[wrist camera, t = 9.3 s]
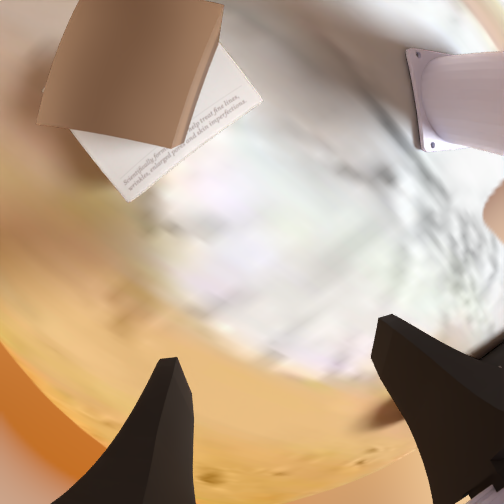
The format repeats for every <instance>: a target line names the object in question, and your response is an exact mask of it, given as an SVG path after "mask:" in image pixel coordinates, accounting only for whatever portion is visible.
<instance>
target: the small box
mask: <svg viewBox="0 0 504 504" xmlns="http://www.w3.org/2000/svg"><path fill="white" fill-rule="evenodd" d="M44 89H45V87H44V88H43V89H42V93H43V92H44ZM262 102H263V99H262V98H261V96H260V95H259V93H258V92H257V91H256V89H255V88H254V87H253V85H252V84H251V83H250V81H249V80H248V79H247V77H246V76H245V75H244V73H243V72H242V71H241V69H240V68H239V67H238V65H237V64H236V63H235V61H234V60H233V59H232V57H231V56H230V55H229V54H228V52H227V51H226V50H225V48H224V47H223V46H222V45H221V43H220V42H219V43H218V47H217V49H216V52H215V54H214V57H213V60H212V62H211V65H210V67H209V70H208V73H207V75H206V78H205V81H204V84H203V86H202V89H201V92H200V95H199V98H198V101H197V104H196V107H195V110H194V113H193V116H192V119H191V122H190V125H189V129H188V132H187V135H186V138H185V142H184V143H182V144H180V145H178V146H176V147H174V148H172V149H169V148H165V147H160V146H156V145H152V144H147V143H142V142H138V141H133V140H128V139H123V138H118V137H113V136H108V135H103V134H97V133H91V132H85V131H79V130H73V129H70V131H71V132H72V133H73V135H74V136H75V137H76V139H77V140H78V141H79V143H80V144H81V145H82V146H83V148H84V149H85V150H86V152H87V153H88V154H89V156H90V157H91V158H92V159H93V161H94V162H95V163H96V164H97V166H98V167H99V168H100V169H101V171H102V172H103V173H104V174H105V176H106V177H107V178H108V179H109V180H110V182H111V183H112V184H113V185H114V187H115V188H116V189H117V190H118V191H119V193H120V194H121V195H122V196H123V198H124V199H125V200H126V202H128V203H129V202H131V201H133V200H134V199H136V198H137V197H138V196H140V195H141V194H142V193H144V192H145V191H146V190H147V189H149V188H150V187H151V186H152V185H153V184H155V183H156V182H157V181H158V180H159V179H161V178H162V177H163V176H164V175H165V174H167V173H168V172H169V171H170V170H172V169H173V168H174V167H175V166H177V165H178V164H179V163H180V162H182V161H183V160H184V159H185V158H187V157H188V156H189V155H191V154H192V153H193V152H194V151H196V150H197V149H198V148H200V147H201V146H202V145H204V144H205V143H206V142H208V141H209V140H210V139H212V138H213V137H214V136H216V135H217V134H218V133H220V132H221V131H223V130H224V129H225V128H227V127H228V126H229V125H231V124H232V123H234V122H235V121H236V120H238V119H239V118H241V117H242V116H244V115H245V114H246V113H248V112H249V111H250V110H252V109H253V108H255V107H256V106H257V105H259V104H260V103H262Z"/></svg>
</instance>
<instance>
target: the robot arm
mask: <svg viewBox="0 0 504 504" xmlns="http://www.w3.org/2000/svg"><path fill="white" fill-rule="evenodd" d="M416 53H417V55H418V57H417V56H416ZM406 57H407V61H408V66H409V70H410V75H411V80H412V85H413V91H414V97H415V103H416V109H417V116H418V124H419V133H420V143H421V148H422V150H423V151H425V152H433V151H442V150H452V149H462V148H474V149H479V150H483V151H487V152H491V153H495V154H499V155H502V156H504V51H496V52H481V53H470V54H460V55H450V54H445V53H440V52H435V51H429V50H422V49H416V48H409V49H407V50H406ZM431 143H432V146H430V145H431ZM371 359H372V361H373V364H374V366H375V368H376V370H377V373H378V375H379V377H380V379H381V381H382V382H383V384H384V386H385V387H386V389H387V391H388V392H389V394H390V395H391V397H392V399H393V400H394V402H395V404H396V405H397V407H398V409H399V410H400V412H401V413H402V415H403V417H404V418H405V420H406V422H407V424H408V426H409V428H410V430H411V432H412V435H413V437H414V439H415V442H416V444H417V447H418V449H419V452H420V455H421V458H422V460H423V463H424V466H425V470H426V473H427V476H428V480H429V484H430V489H431V494H432V499H433V504H455V503H456V502H458V501H460V500H461V499H462V498H464V497H466V496H467V495H468V494H469V496H470V498H471V500H470V501H468V502H467V503H466V504H504V368H501V367H497V366H494V365H491V364H488V363H485V362H483V361H480V360H478V359H475V358H473V357H470V356H468V355H466V354H464V353H462V352H460V351H458V350H456V349H454V348H452V347H450V346H448V345H446V344H444V343H442V342H440V341H439V340H437V339H435V338H433V337H431V336H430V335H428V334H426V333H425V332H423V331H421V330H419V329H418V328H416V327H414V326H413V325H411V324H409V323H408V322H406V321H404V320H402V319H401V318H399V317H397V316H395V315H393V314H390V315H387V316H383V317H380V318H378V323H377V329H376V334H375V339H374V344H373V349H372V353H371ZM193 433H194V413H193V401H192V393H191V390H190V388H189V386H188V383H187V381H186V378H185V376H184V373H183V371H182V368H181V366H180V363H179V360H178V358H177V357H174V358H164V359H160V360H159V361H158V363H157V365H156V367H155V369H154V371H153V373H152V375H151V377H150V379H149V381H148V383H147V385H146V387H145V389H144V391H143V392H142V394H141V396H140V398H139V400H138V402H137V403H136V405H135V407H134V409H133V410H132V412H131V414H130V415H129V417H128V419H127V420H126V422H125V423H124V425H123V427H122V428H121V430H120V431H119V433H118V434H117V436H116V437H115V439H114V440H113V441H112V443H111V444H110V445H109V447H108V448H107V449H106V451H105V452H104V453H103V454H102V456H101V457H100V458H99V459H98V461H96V463H95V464H94V465H93V466H92V467H91V468H90V469H89V470H88V472H87V473H86V474H85V475H84V476H83V477H82V478H80V479H79V480H78V481H77V482H76V483H75V484H74V485H73V486H72V487H71V488H70V489H69V490H68V491H67V492H66V493H64V494H63V495H62V496H60V497H59V498H58V499H56V500H55V501H54V502H52V503H51V504H196V502H195V494H194V485H193Z"/></svg>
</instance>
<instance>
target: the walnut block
mask: <svg viewBox="0 0 504 504" xmlns="http://www.w3.org/2000/svg"><path fill="white" fill-rule="evenodd" d="M223 9H224V5H222V4H218V3H214V2H209V1H204V0H79V2H78V4H77V6H76V8H75V10H74V12H73V14H72V16H71V18H70V20H69V23H68V25H67V27H66V30H65V32H64V34H63V37H62V39H61V42H60V44H59V47H58V49H57V52H56V55H55V58H54V60H53V63H52V66H51V69H50V72H49V75H48V79H47V82H46V85H45V89H44V92H43V96H42V100H41V104H40V108H39V112H38V117H37V121H36V124H37V125H45V126H53V127H60V128H67V129H73V130H79V131H85V132H91V133H97V134H103V135H108V136H113V137H118V138H123V139H128V140H133V141H138V142H142V143H147V144H152V145H156V146H160V147H165V148H169V149H172V148H174V147H176V146H178V145H180V144H182V143H184V142H185V138H186V135H187V132H188V129H189V125H190V122H191V119H192V116H193V113H194V110H195V107H196V104H197V101H198V98H199V95H200V92H201V89H202V86H203V84H204V81H205V78H206V75H207V73H208V70H209V67H210V65H211V62H212V60H213V57H214V54H215V52H216V49H217V47H218V43H219V36H220V29H221V22H222V15H223Z"/></svg>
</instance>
